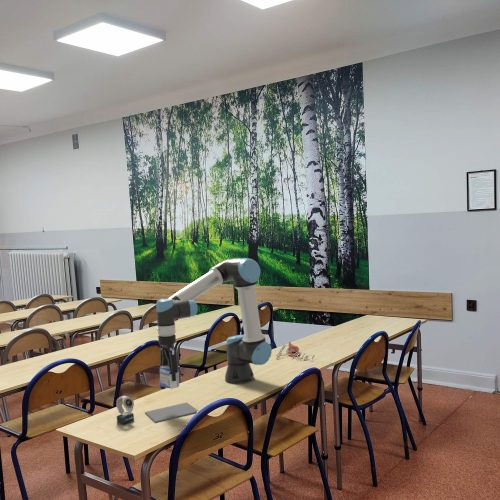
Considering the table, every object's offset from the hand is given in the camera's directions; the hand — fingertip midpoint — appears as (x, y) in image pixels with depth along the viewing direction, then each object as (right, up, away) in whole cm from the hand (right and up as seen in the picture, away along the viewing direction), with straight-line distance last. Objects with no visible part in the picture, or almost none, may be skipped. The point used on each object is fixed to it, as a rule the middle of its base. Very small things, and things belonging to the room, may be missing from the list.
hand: (169, 385), depth 232 cm
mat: (+1, -12, +1) cm, 12 cm away
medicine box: (0, -1, 0) cm, 1 cm away
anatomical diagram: (+63, -6, +84) cm, 105 cm away
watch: (-18, -14, -7) cm, 24 cm away
